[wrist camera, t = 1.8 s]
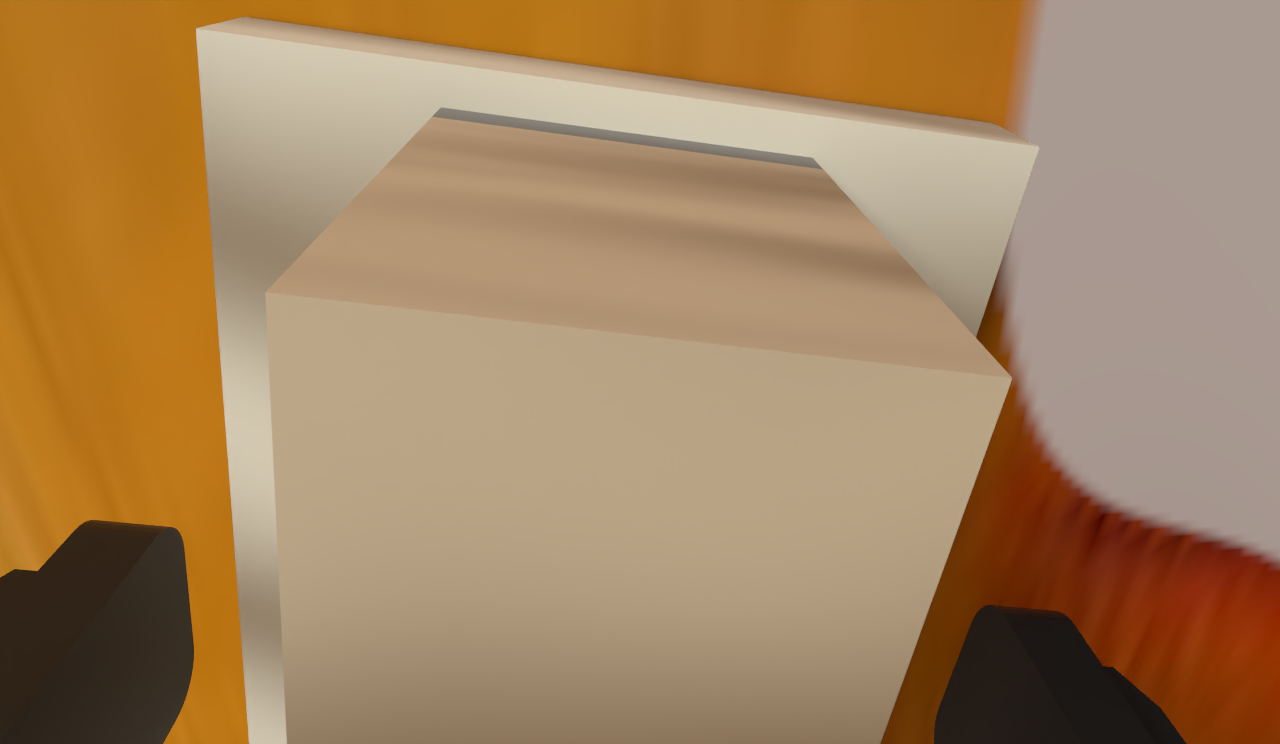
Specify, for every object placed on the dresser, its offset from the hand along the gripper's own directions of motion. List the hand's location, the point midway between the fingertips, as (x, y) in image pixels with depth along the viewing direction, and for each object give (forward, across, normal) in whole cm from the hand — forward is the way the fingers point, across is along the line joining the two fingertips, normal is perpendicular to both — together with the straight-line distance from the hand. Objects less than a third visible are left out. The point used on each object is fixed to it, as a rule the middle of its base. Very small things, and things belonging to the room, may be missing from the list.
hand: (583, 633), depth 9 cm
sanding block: (+4, 0, 0) cm, 4 cm away
